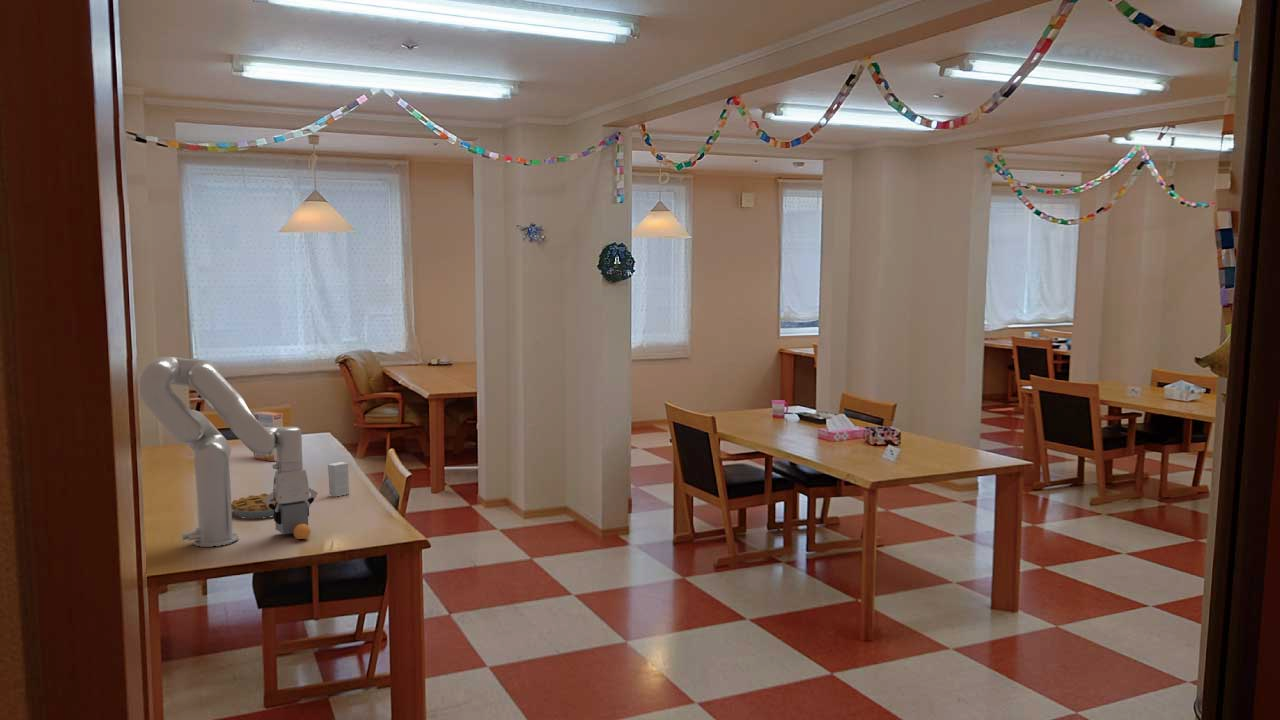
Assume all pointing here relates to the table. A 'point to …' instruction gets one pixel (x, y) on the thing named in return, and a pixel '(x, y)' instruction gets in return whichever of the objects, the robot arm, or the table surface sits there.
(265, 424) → the cracker box
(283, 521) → the rounded grey cube
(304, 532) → the ball
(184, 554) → the table surface
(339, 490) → the skincare box
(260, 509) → the pie
